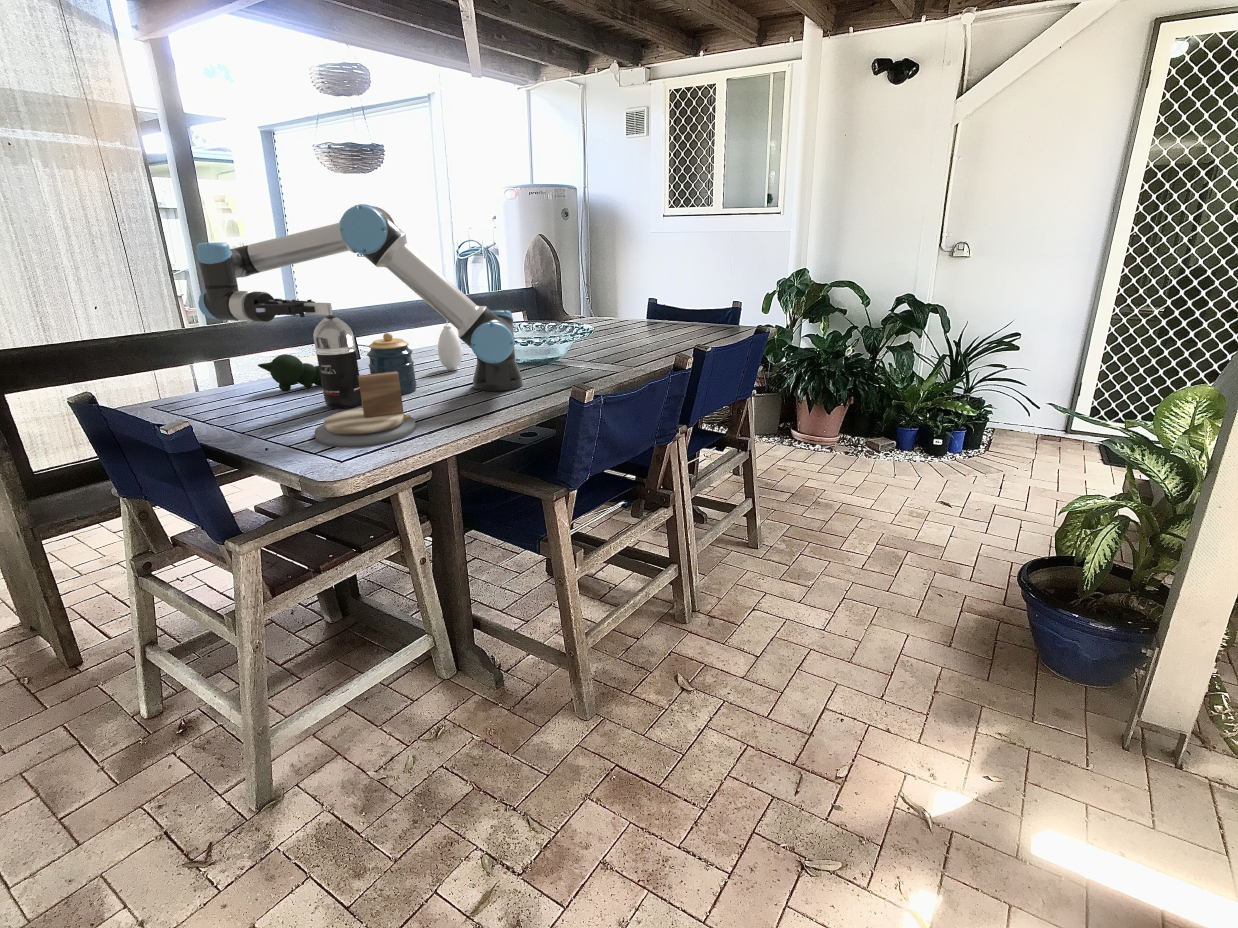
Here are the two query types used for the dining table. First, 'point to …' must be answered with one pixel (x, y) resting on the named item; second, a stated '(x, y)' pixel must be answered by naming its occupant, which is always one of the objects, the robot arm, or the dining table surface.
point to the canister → (393, 360)
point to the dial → (371, 406)
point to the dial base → (365, 435)
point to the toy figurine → (292, 372)
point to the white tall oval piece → (449, 348)
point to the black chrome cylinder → (337, 363)
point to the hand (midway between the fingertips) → (328, 309)
